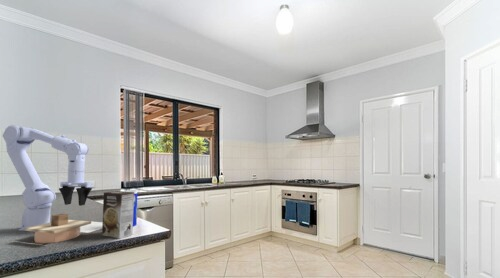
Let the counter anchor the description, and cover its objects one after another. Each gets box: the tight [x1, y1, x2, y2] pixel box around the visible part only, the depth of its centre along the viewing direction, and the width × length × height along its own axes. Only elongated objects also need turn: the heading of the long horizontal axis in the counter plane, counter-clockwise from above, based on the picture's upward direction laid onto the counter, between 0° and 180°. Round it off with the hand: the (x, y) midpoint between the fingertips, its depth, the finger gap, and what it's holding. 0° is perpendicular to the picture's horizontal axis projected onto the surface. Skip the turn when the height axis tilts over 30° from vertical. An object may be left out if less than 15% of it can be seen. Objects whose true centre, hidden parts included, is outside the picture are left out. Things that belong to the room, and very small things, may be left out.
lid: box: [25, 213, 91, 234], centre depth 96 cm, size 14×14×4 cm
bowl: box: [33, 227, 81, 245], centre depth 95 cm, size 13×13×4 cm
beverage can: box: [124, 189, 138, 227], centre depth 112 cm, size 5×5×15 cm
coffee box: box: [101, 190, 134, 240], centre depth 99 cm, size 9×6×16 cm
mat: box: [80, 220, 103, 234], centre depth 110 cm, size 15×15×1 cm
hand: (74, 204), depth 108 cm, fingers open, 7 cm apart
